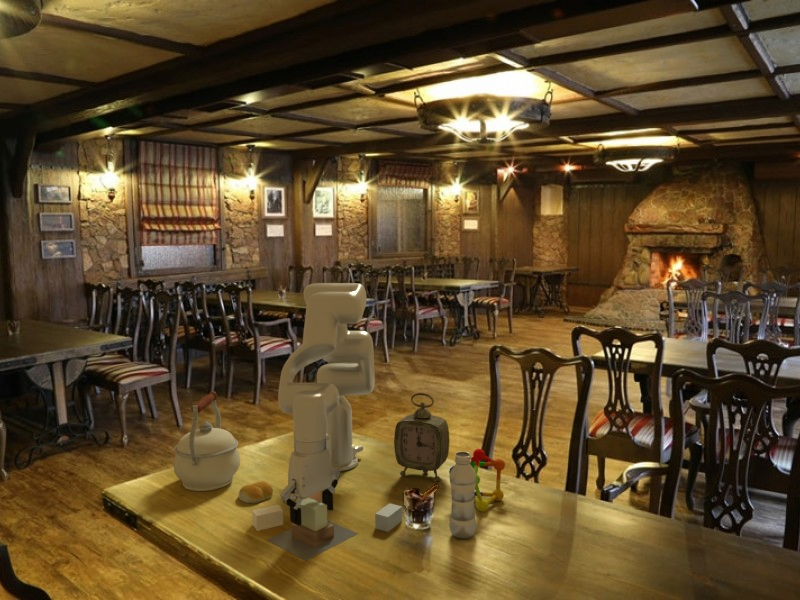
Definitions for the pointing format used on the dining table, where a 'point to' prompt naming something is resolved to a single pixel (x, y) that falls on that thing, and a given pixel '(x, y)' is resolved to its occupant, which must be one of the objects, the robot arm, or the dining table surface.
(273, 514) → the brick cream
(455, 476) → the plastic bottle
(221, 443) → the kettle
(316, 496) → the brick terracotta
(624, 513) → the dining table surface
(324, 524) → the brick sage
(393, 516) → the grey block
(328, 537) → the brick walnut
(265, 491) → the bread roll
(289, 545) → the slate board
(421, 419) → the tabletop clock
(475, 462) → the educational toy
